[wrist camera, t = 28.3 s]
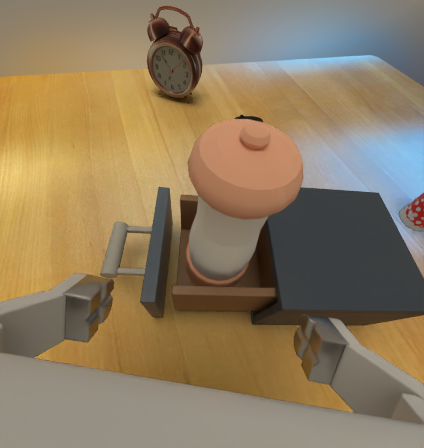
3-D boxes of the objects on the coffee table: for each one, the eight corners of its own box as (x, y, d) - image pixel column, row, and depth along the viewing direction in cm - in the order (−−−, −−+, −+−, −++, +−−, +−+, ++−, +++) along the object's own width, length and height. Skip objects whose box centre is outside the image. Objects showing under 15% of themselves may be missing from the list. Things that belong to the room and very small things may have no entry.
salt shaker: (173, 267, 26) (153, 125, 10) (210, 228, 30) (239, 76, 14) (220, 306, 25) (288, 210, 8) (253, 261, 28) (348, 129, 12)
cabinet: (251, 324, 26) (282, 309, 18) (242, 226, 33) (261, 184, 25) (365, 325, 27) (441, 312, 19) (332, 231, 34) (378, 192, 26)
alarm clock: (150, 95, 49) (137, 3, 36) (158, 85, 51) (149, -4, 39) (196, 107, 48) (200, 18, 35) (202, 97, 51) (208, 10, 38)
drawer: (106, 316, 24) (75, 301, 17) (128, 221, 30) (112, 183, 24) (268, 318, 26) (297, 304, 19) (256, 227, 32) (275, 194, 25)
